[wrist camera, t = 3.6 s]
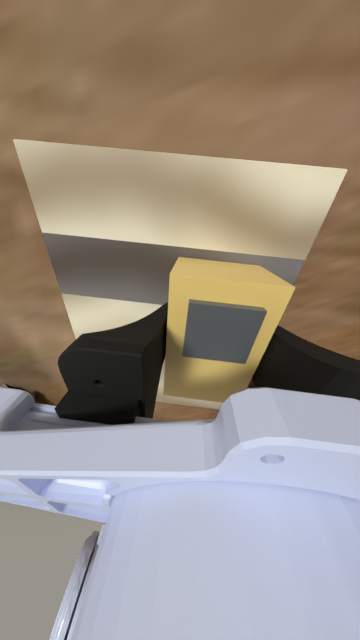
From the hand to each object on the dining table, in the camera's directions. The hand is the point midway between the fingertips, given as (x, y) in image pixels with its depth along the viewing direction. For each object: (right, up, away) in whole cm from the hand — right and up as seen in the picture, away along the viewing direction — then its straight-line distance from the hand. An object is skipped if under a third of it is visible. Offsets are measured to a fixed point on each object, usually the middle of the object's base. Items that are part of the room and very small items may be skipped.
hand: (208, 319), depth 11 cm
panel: (-3, 0, +2) cm, 4 cm away
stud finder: (0, 0, 0) cm, 0 cm away
